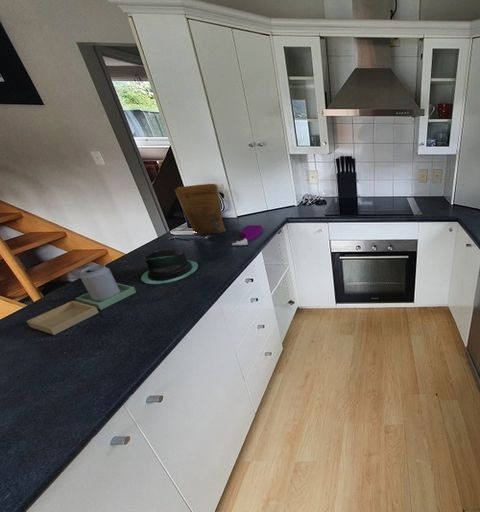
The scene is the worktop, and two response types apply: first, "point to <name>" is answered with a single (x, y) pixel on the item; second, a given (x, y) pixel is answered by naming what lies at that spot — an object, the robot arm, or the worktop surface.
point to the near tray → (62, 317)
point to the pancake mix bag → (202, 208)
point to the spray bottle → (249, 234)
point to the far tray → (124, 293)
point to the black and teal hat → (167, 266)
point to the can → (99, 282)
